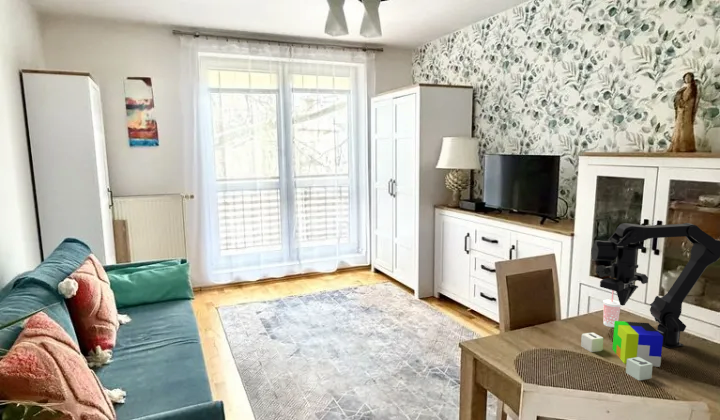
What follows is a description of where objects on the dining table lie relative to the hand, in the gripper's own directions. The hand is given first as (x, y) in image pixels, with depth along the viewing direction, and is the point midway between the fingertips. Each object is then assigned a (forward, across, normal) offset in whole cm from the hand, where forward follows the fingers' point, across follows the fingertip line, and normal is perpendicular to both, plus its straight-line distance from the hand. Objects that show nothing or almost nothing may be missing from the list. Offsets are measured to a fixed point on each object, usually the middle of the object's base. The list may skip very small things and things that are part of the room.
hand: (622, 305), depth 147 cm
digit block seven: (+13, +18, +16) cm, 27 cm away
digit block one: (+13, +14, -2) cm, 19 cm away
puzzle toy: (+13, +8, +9) cm, 18 cm away
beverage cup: (+13, -11, -10) cm, 20 cm away
